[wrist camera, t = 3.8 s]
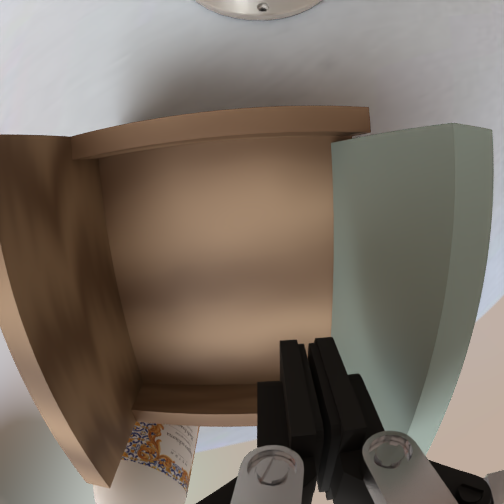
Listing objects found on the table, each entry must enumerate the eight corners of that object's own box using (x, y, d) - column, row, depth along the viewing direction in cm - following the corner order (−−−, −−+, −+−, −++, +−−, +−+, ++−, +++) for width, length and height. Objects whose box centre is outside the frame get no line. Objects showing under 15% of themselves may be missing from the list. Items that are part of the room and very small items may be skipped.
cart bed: (114, 145, 22) (-35, 145, 7) (326, 125, 21) (435, 81, 7) (149, 351, 27) (86, 482, 12) (327, 344, 26) (375, 488, 12)
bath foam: (218, 404, 29) (193, 595, 9) (165, 422, 30) (119, 584, 10) (177, 355, 27) (107, 563, 8) (123, 377, 28) (42, 545, 9)
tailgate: (330, 143, 16) (453, 122, 5) (362, 143, 16) (508, 133, 5) (327, 376, 20) (367, 518, 9) (353, 373, 20) (404, 508, 9)
